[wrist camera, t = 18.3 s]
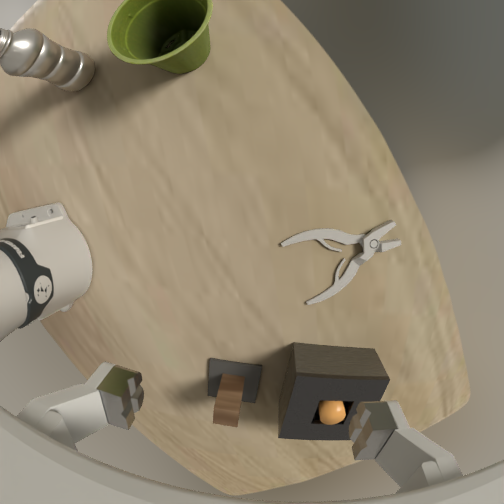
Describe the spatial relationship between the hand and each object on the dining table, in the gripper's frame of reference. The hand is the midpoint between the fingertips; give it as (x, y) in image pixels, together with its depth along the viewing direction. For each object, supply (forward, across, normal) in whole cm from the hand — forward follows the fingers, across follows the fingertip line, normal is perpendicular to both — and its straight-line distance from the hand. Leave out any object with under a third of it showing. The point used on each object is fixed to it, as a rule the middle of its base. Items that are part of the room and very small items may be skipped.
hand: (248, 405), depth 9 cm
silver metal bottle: (+29, +31, -22) cm, 48 cm away
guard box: (+29, -12, +22) cm, 38 cm away
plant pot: (+29, +14, -24) cm, 40 cm away
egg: (+26, -12, +22) cm, 36 cm away
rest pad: (+29, +2, +24) cm, 38 cm away
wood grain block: (+29, +2, +24) cm, 37 cm away
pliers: (+30, -11, +1) cm, 32 cm away
